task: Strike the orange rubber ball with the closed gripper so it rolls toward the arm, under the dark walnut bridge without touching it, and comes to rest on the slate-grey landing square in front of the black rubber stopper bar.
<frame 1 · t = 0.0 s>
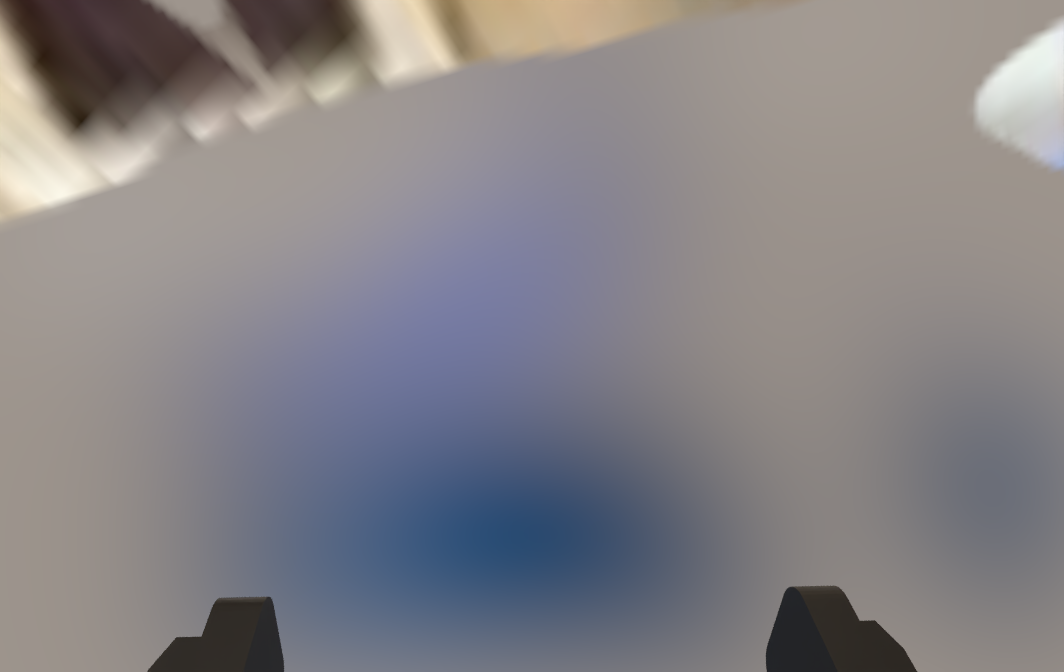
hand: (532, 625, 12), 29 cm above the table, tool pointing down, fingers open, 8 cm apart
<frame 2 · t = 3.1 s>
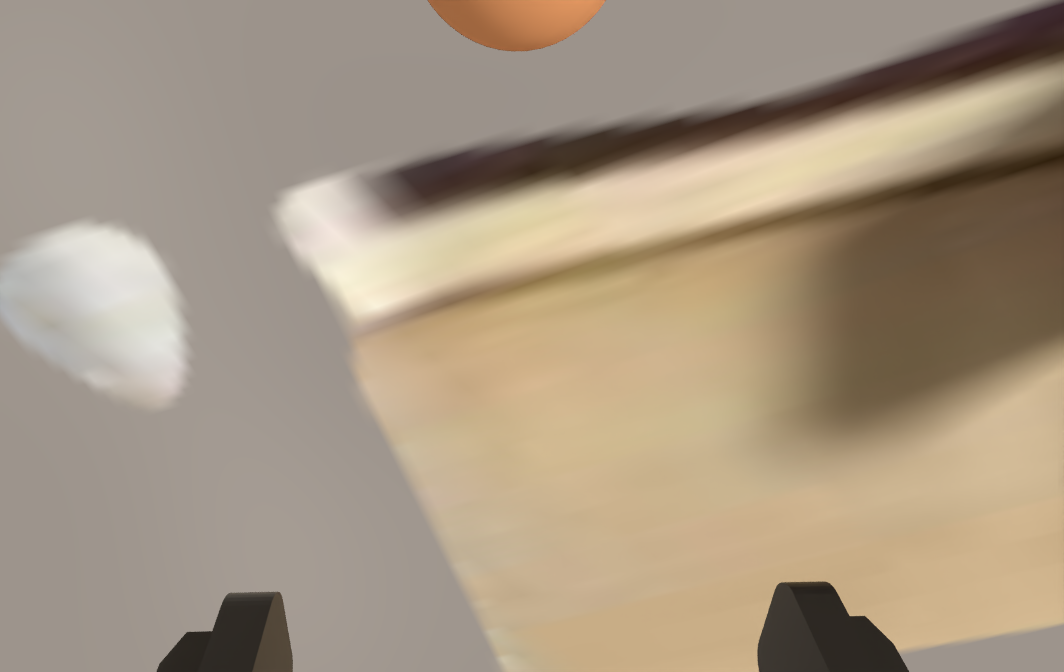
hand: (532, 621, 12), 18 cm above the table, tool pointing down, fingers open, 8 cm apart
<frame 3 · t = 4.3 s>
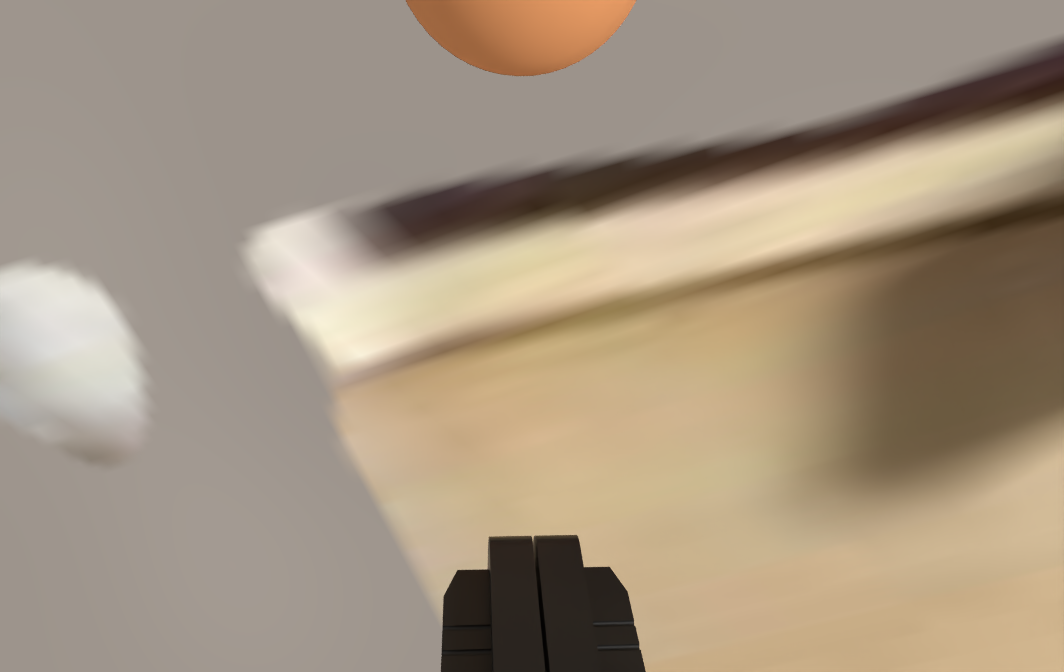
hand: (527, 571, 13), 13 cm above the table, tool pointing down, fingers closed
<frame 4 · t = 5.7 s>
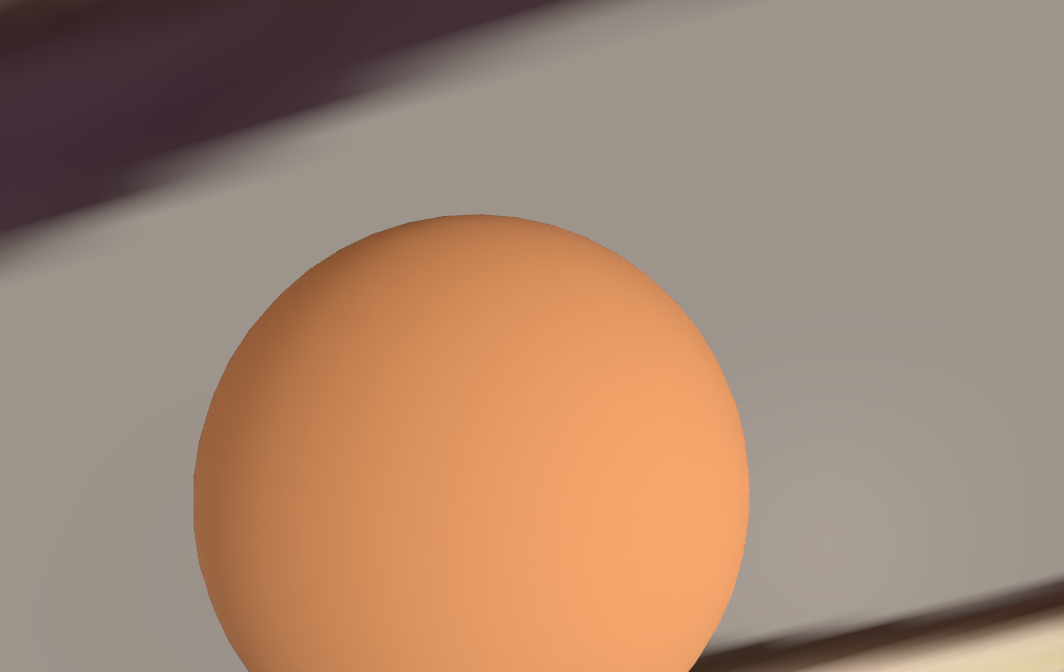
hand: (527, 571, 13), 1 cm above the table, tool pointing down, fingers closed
ball: (478, 477, 9), on the table, touching gripper
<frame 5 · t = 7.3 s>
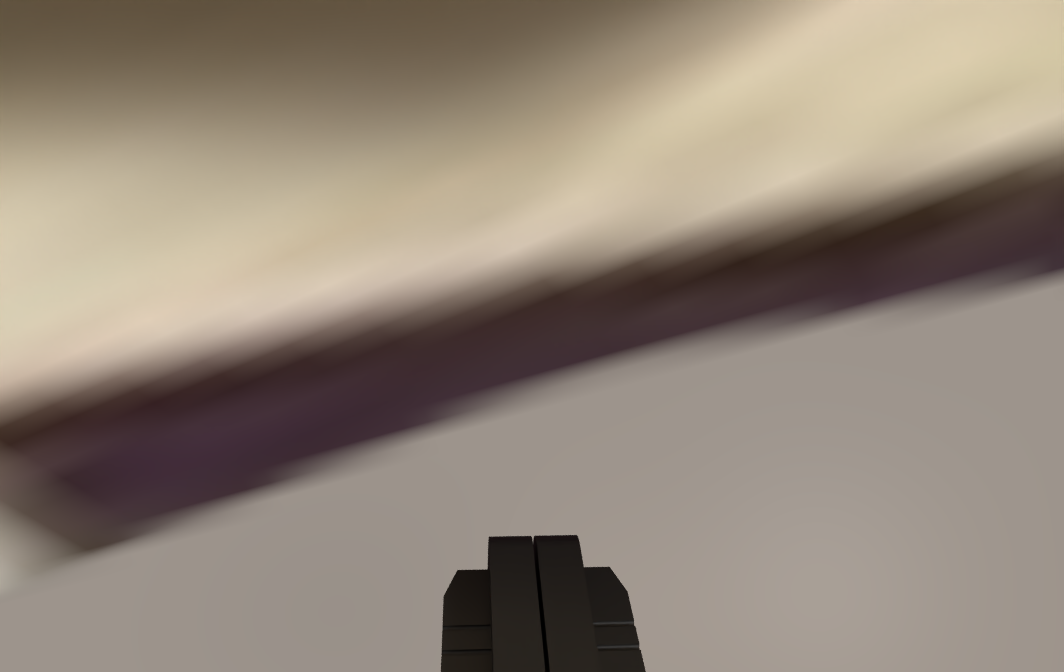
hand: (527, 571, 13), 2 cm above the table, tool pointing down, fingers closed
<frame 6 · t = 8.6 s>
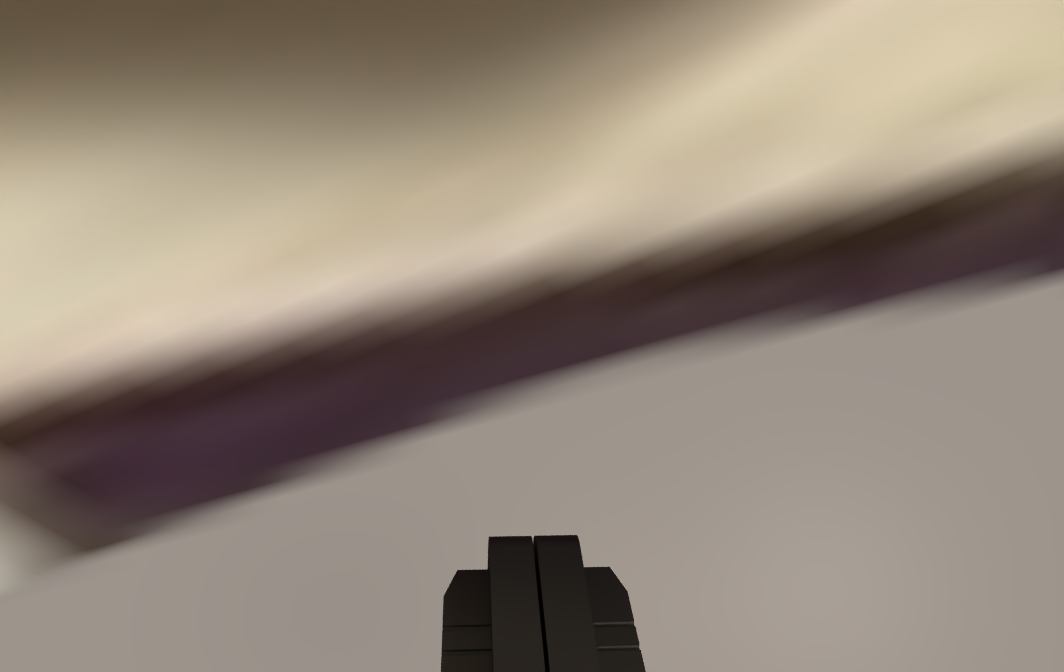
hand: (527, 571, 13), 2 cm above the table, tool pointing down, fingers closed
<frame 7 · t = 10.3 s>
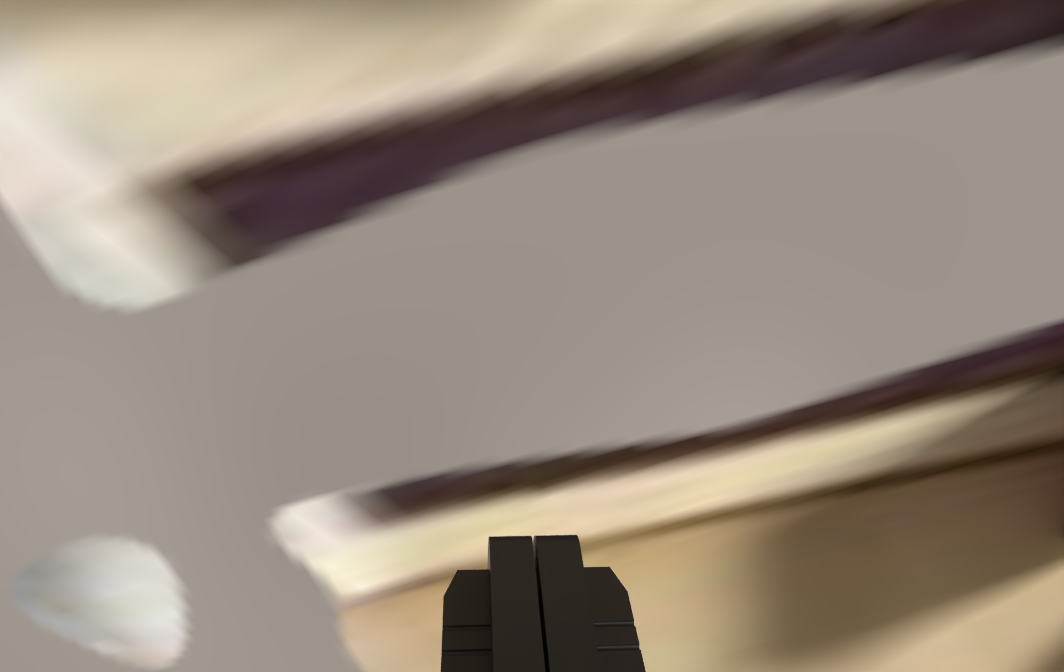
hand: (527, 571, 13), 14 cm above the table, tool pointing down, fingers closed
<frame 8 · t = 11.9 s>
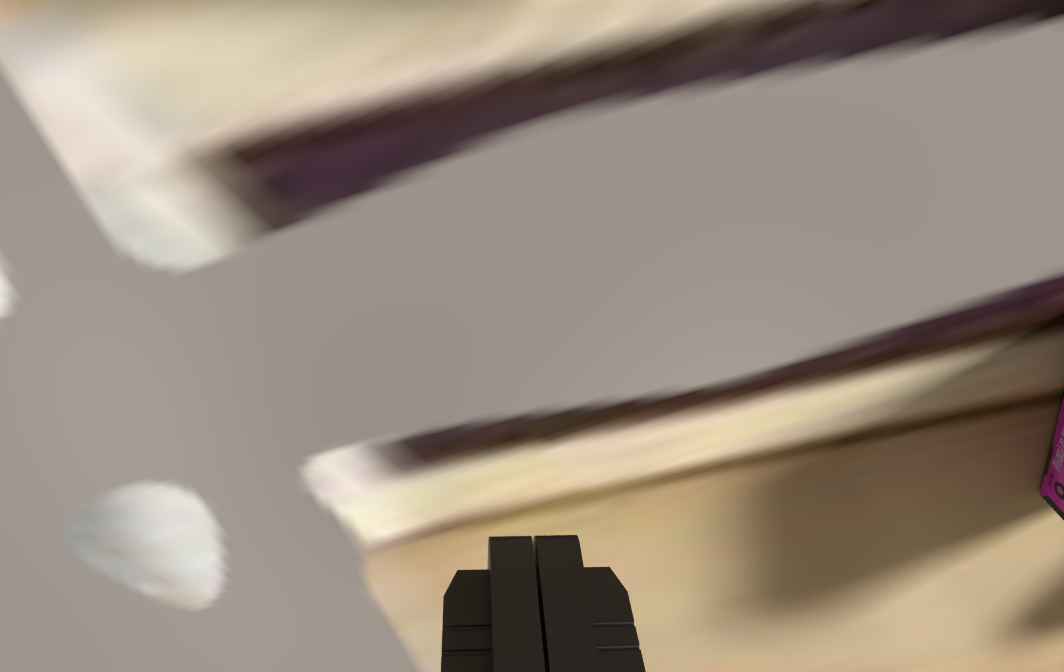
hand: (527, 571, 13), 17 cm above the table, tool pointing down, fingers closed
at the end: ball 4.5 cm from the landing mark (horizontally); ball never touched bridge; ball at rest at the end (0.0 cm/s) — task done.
